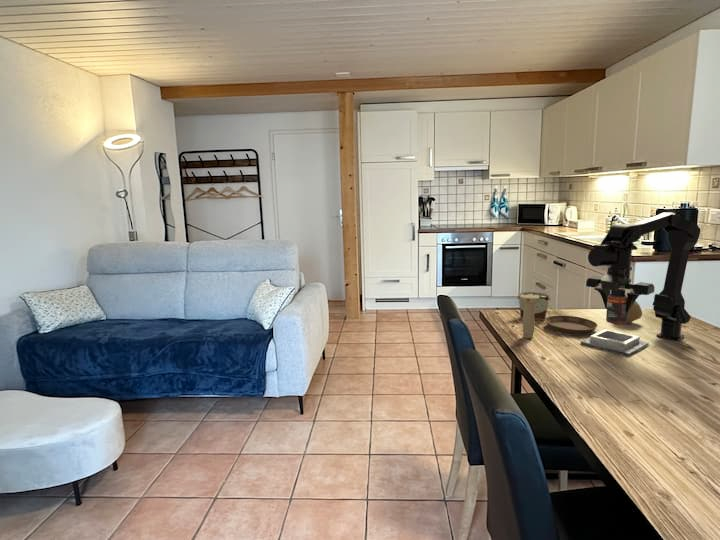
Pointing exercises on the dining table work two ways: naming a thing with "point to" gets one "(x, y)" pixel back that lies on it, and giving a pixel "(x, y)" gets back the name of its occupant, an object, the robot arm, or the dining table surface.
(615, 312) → the supplement bottle
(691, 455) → the dining table surface
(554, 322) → the plant saucer
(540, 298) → the food container
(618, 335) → the grey square tray
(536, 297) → the handle
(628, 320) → the natural sponge
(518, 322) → the dining table surface
